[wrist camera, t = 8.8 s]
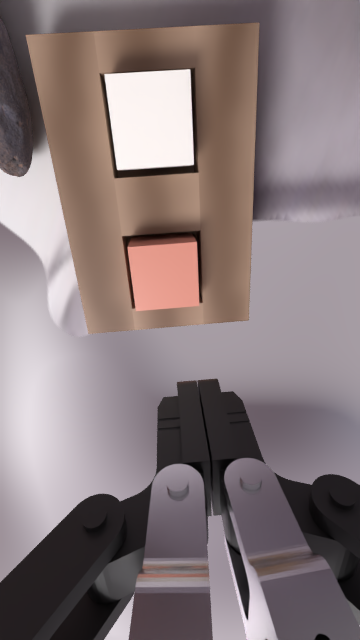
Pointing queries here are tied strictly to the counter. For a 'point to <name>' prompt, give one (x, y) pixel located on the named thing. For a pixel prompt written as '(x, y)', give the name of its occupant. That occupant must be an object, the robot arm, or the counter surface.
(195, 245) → the salmon pink block
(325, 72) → the counter surface
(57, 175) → the frame
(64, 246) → the counter surface
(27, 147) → the perforated stone tool
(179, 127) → the key white
